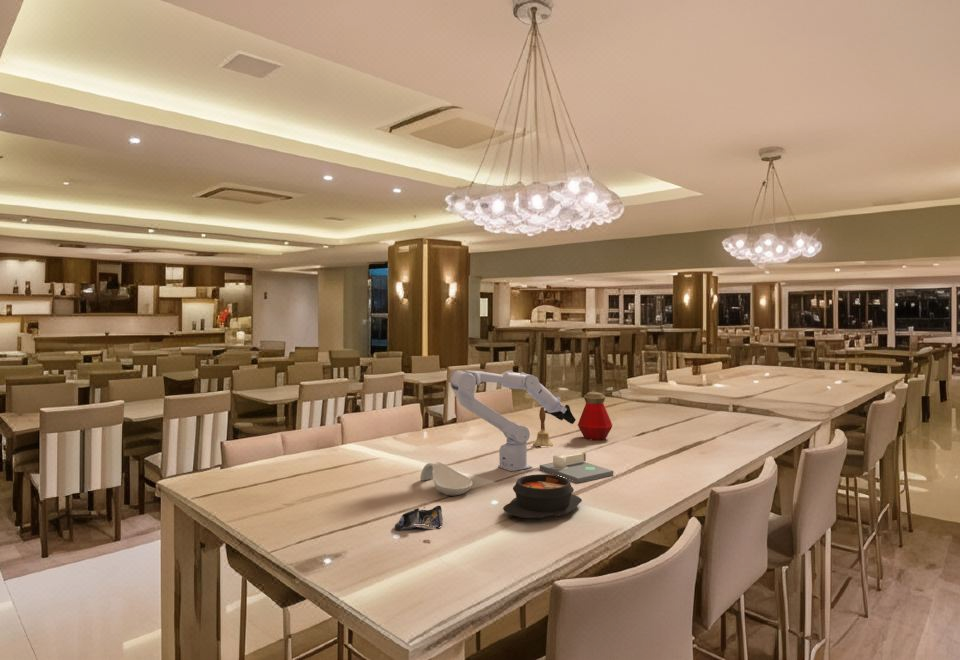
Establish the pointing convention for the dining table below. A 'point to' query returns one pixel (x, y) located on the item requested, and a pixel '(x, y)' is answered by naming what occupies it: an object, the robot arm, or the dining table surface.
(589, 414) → the bottle
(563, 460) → the brown-capped cream post
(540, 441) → the hand bell
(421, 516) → the snack package
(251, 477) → the dining table surface
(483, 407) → the robot arm
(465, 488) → the spoon rest
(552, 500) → the casserole
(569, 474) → the dial board
